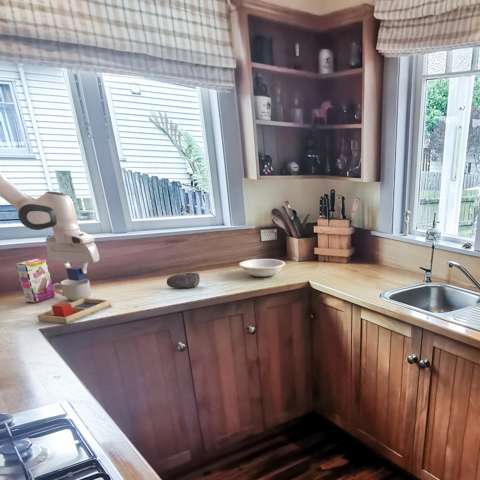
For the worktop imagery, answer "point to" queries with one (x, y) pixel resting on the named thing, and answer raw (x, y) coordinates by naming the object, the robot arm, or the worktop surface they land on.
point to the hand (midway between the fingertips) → (77, 272)
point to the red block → (62, 309)
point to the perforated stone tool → (183, 280)
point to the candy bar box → (35, 280)
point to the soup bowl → (262, 267)
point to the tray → (76, 311)
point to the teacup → (74, 289)
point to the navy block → (76, 274)
